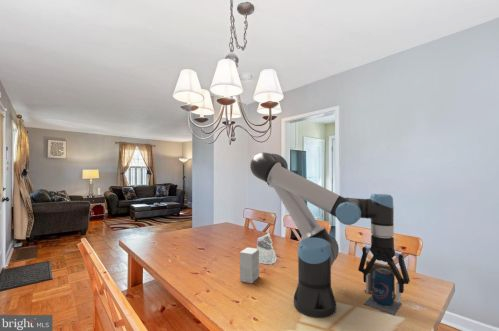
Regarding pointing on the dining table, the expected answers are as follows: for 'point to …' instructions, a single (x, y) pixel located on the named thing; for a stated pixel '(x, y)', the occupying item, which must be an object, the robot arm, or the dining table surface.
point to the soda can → (383, 286)
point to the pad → (390, 309)
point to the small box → (249, 265)
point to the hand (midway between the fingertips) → (382, 296)
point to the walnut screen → (372, 275)
